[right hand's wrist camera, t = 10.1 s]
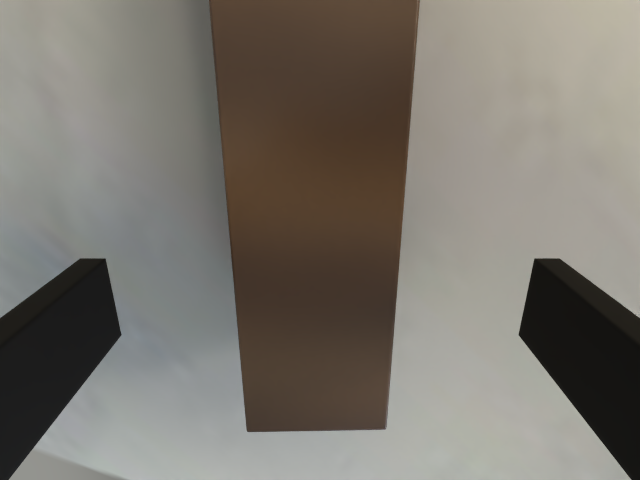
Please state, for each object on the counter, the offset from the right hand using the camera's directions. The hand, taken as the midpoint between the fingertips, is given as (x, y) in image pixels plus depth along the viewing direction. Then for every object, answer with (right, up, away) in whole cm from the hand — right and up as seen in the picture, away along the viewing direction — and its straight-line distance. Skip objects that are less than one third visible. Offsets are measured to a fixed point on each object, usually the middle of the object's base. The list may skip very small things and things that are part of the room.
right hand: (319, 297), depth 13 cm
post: (0, +28, -2) cm, 28 cm away
